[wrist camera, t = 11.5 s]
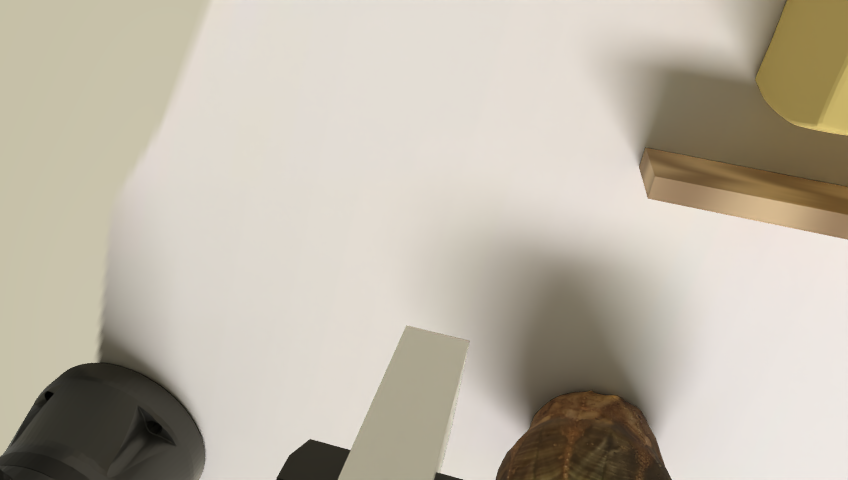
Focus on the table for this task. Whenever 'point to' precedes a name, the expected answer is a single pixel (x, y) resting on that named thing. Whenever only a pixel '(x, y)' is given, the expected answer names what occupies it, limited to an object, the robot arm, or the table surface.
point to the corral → (746, 192)
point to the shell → (586, 442)
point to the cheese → (809, 66)
